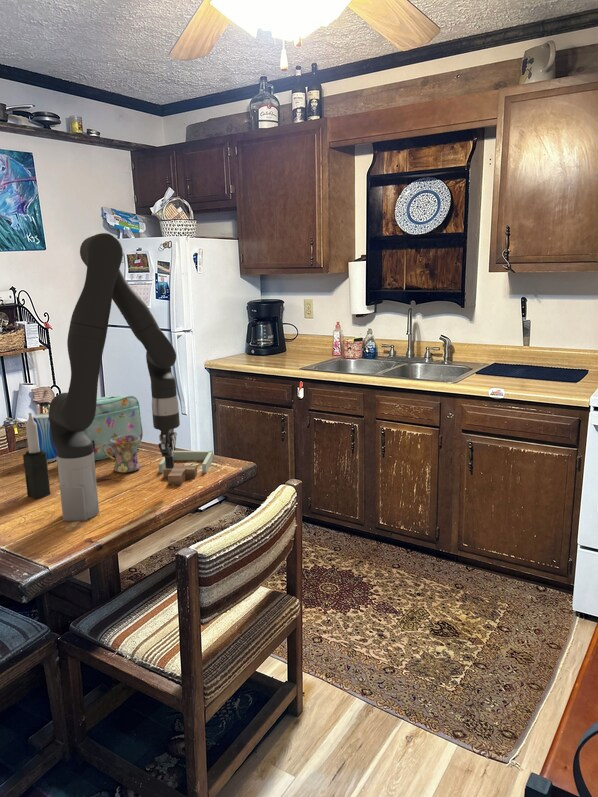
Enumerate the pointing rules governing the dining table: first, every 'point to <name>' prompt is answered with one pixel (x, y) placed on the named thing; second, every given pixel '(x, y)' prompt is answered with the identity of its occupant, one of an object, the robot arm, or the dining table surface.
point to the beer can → (45, 436)
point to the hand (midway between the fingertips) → (170, 467)
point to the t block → (179, 473)
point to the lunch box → (114, 422)
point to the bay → (191, 458)
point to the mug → (125, 453)
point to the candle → (35, 464)
